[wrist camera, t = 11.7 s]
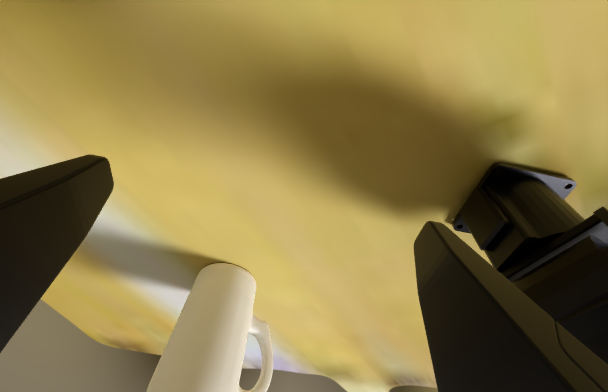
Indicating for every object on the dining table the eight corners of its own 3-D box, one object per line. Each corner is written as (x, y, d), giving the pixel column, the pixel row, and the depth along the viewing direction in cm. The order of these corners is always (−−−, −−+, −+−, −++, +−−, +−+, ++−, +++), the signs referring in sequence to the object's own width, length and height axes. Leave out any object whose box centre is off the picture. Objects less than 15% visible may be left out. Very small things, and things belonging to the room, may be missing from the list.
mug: (185, 284, 33) (128, 414, 23) (211, 250, 29) (157, 387, 20) (264, 317, 36) (243, 444, 26) (296, 291, 32) (285, 426, 23)
